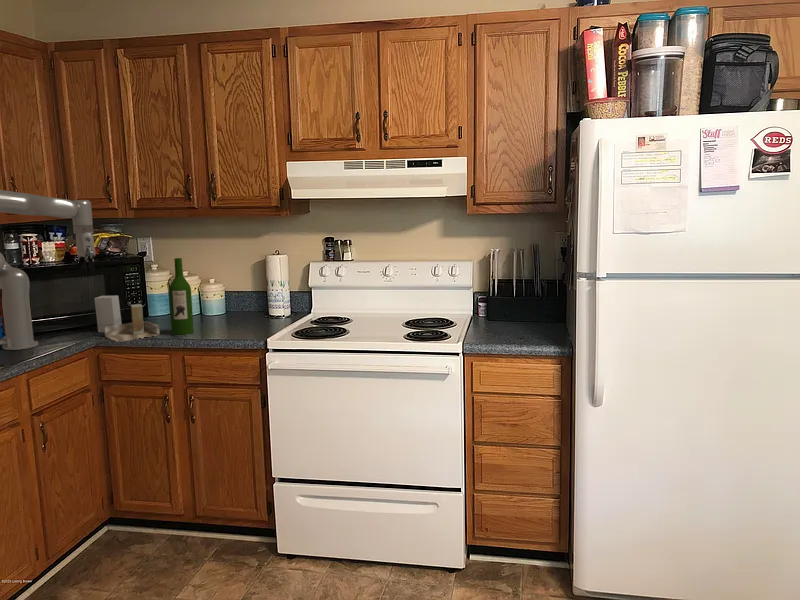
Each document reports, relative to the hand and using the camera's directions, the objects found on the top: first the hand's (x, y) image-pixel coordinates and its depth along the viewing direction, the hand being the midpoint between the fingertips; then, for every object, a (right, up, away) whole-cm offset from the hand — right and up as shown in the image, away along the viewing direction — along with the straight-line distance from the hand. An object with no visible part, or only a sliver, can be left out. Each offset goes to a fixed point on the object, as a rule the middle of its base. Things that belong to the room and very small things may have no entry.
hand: (86, 270), depth 287 cm
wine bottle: (+39, -27, +6) cm, 48 cm away
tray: (+19, -28, +2) cm, 34 cm away
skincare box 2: (+20, -27, +5) cm, 34 cm away
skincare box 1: (+4, -27, +14) cm, 30 cm away
